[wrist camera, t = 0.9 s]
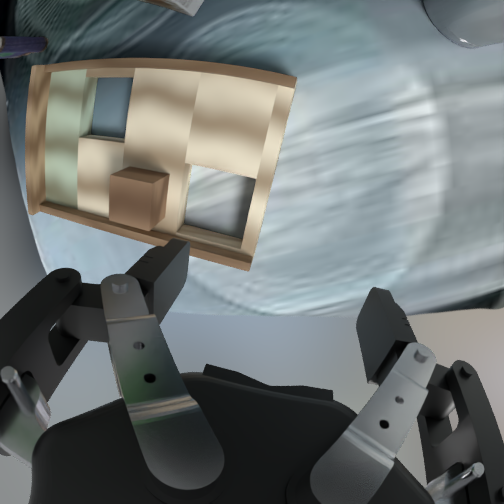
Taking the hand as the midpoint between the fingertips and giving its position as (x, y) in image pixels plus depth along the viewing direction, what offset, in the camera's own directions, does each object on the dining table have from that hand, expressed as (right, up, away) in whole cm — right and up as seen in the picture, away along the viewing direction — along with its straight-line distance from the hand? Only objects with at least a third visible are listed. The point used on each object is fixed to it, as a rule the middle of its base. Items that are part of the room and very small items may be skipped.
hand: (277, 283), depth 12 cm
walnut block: (-13, +8, +18) cm, 24 cm away
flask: (-34, +32, +13) cm, 48 cm away
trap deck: (-14, +14, +18) cm, 27 cm away
